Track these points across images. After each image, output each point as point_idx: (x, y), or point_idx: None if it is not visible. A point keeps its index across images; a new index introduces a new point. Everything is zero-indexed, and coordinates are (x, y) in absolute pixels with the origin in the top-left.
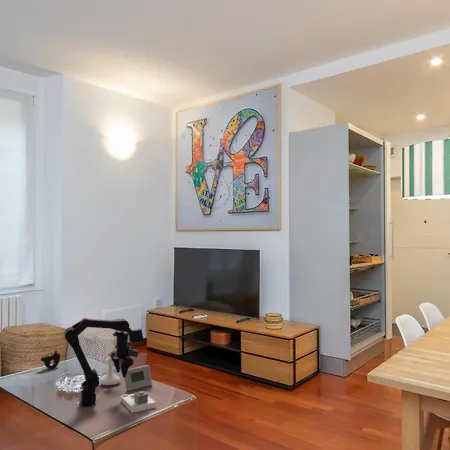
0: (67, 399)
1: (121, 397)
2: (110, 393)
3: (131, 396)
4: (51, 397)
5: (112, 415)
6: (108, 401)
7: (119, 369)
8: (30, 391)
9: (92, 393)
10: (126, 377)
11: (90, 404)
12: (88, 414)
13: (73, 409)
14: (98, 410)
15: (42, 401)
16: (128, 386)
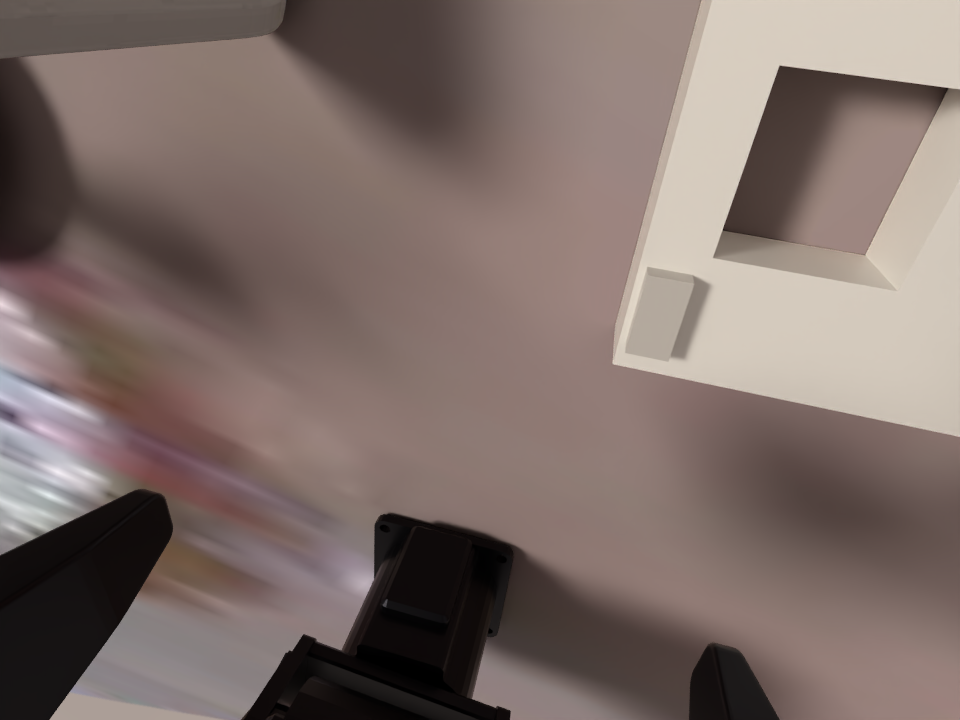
0: (260, 602)
1: (652, 367)
2: (265, 279)
3: (728, 205)
4: (176, 633)
5: (940, 598)
6: (513, 426)
7: (89, 561)
8: None
9: (462, 673)
10: (33, 26)
11: (505, 591)
12: None
13: (496, 674)
14: (678, 599)
15: (232, 686)
16: (239, 1)
